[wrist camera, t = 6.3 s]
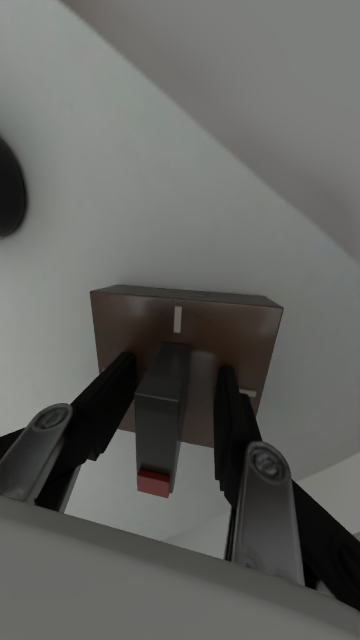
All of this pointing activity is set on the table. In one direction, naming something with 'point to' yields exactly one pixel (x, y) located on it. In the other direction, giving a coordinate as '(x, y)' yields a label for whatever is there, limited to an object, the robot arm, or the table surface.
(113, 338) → the dial panel
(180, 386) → the dial knob
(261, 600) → the robot arm
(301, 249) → the table surface
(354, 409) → the table surface
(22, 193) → the supplement bottle
